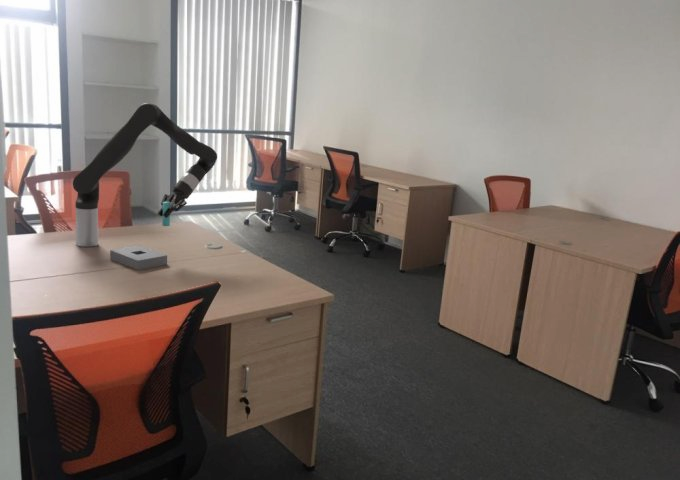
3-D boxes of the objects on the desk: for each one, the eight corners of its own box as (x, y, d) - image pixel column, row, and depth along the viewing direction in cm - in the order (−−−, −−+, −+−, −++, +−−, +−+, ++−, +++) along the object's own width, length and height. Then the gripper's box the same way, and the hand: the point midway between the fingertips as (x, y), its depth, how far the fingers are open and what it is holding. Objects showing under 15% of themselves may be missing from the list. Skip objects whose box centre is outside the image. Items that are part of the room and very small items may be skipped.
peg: (160, 225, 252) (161, 202, 250) (166, 224, 254) (167, 201, 252) (165, 226, 250) (165, 203, 248) (171, 225, 253) (171, 202, 250)
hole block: (110, 259, 249) (110, 250, 248) (139, 254, 260) (139, 245, 259) (137, 270, 238) (137, 260, 237) (167, 264, 248) (167, 255, 247)
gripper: (171, 177, 258) (146, 207, 251) (191, 182, 249) (167, 213, 243) (181, 188, 263) (157, 218, 256) (201, 193, 255) (177, 224, 248)
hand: (162, 215), depth 250 cm, fingers closed on peg, 3 cm apart
